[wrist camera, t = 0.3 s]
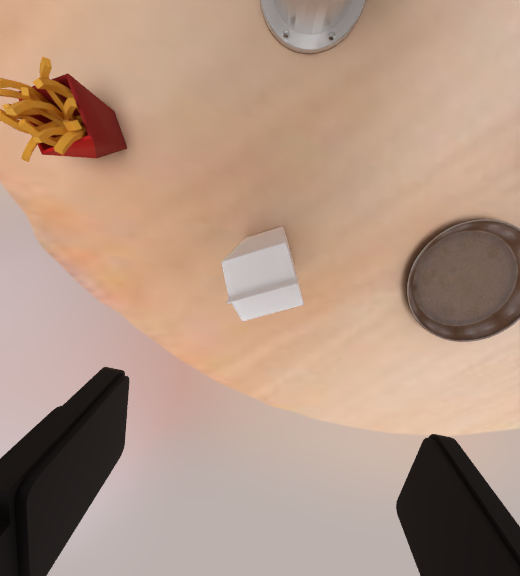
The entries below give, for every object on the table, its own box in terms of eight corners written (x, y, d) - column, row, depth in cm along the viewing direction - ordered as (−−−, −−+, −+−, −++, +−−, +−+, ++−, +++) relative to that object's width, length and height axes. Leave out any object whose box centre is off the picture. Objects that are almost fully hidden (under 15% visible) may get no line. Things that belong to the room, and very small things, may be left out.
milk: (294, 263, 45) (309, 319, 24) (256, 275, 46) (237, 338, 25) (282, 224, 43) (288, 247, 22) (243, 237, 44) (213, 270, 23)
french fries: (118, 101, 40) (28, 44, 26) (139, 164, 42) (68, 144, 28) (61, 121, 41) (-56, 77, 27) (84, 181, 44) (-12, 170, 29)
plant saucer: (378, 309, 46) (385, 316, 43) (438, 198, 41) (450, 198, 39) (480, 349, 47) (493, 359, 44) (551, 245, 42) (571, 249, 39)
